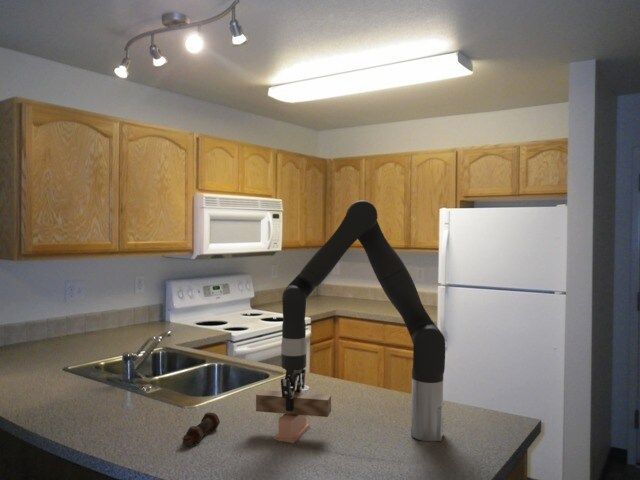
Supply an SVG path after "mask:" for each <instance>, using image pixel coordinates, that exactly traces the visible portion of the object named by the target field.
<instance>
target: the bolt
mask: <svg viewBox="0 0 640 480" xmlns="http://www.w3.org/2000/svg"><path fill="white" fill-rule="evenodd" d="M220 423H221V421H220V418H219V416H218V415H217V414H216V413H215V412H206V413H204V415H203V416H202V419H201V420H200V423H199V424H197V425H191V426H190V427H189V428H188V429H187V432H186V434H185V435H183V437H182V444H183V445H184V446H186V447H191V446H192V445H193V444H199V443H200V442H201V441H202V439H203V436H204V435H205V434H206V433H208V432H209V431H216V430H217V429H218V427H219V425H220Z"/></svg>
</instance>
